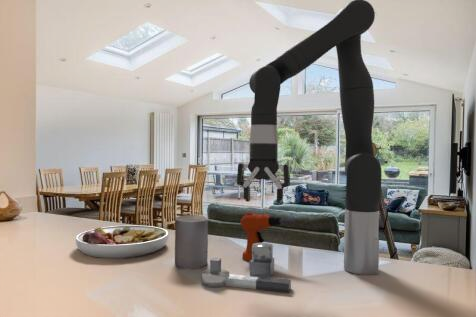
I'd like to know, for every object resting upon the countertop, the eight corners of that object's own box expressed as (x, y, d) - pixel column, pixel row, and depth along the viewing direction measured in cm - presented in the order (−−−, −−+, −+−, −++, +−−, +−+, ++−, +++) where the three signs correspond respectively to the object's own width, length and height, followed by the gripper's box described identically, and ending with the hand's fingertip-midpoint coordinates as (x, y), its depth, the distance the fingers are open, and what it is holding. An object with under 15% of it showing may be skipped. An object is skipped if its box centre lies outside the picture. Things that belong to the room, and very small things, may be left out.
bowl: (120, 235, 153) (120, 215, 153) (185, 244, 140) (185, 222, 140) (55, 253, 126) (54, 229, 126) (127, 266, 113) (127, 239, 113)
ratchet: (291, 285, 98) (292, 262, 98) (287, 295, 91) (287, 270, 91) (207, 276, 104) (207, 254, 104) (197, 285, 97) (197, 261, 97)
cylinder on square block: (274, 272, 109) (274, 243, 108) (270, 278, 103) (270, 248, 103) (254, 270, 110) (254, 241, 110) (249, 276, 105) (250, 246, 105)
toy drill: (297, 264, 111) (291, 211, 112) (239, 262, 120) (234, 213, 121) (303, 260, 115) (297, 209, 116) (247, 258, 125) (242, 211, 125)
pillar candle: (174, 259, 119) (174, 211, 119) (205, 258, 121) (206, 210, 121) (175, 270, 110) (175, 217, 109) (210, 268, 112) (210, 216, 111)
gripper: (292, 142, 107) (291, 201, 108) (242, 142, 111) (241, 199, 112) (287, 142, 100) (287, 205, 101) (234, 141, 104) (233, 202, 105)
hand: (263, 201), depth 106 cm, fingers open, 8 cm apart
